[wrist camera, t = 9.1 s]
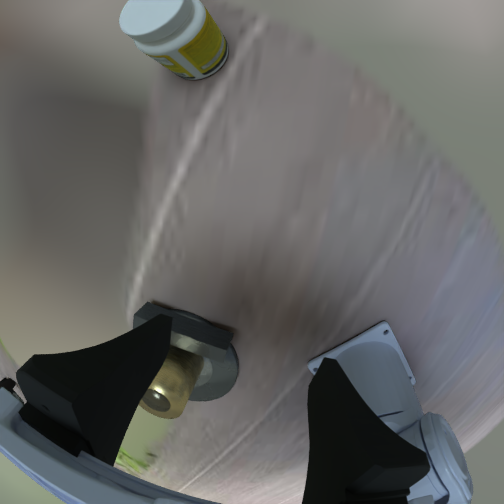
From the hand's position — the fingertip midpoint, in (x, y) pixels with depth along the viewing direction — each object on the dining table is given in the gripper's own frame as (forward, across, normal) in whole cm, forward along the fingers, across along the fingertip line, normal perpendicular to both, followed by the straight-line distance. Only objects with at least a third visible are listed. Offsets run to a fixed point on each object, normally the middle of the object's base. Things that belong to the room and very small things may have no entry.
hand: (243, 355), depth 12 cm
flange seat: (+10, +5, +11) cm, 16 cm away
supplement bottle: (+11, +9, -16) cm, 21 cm away
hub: (+9, +5, +10) cm, 15 cm away
